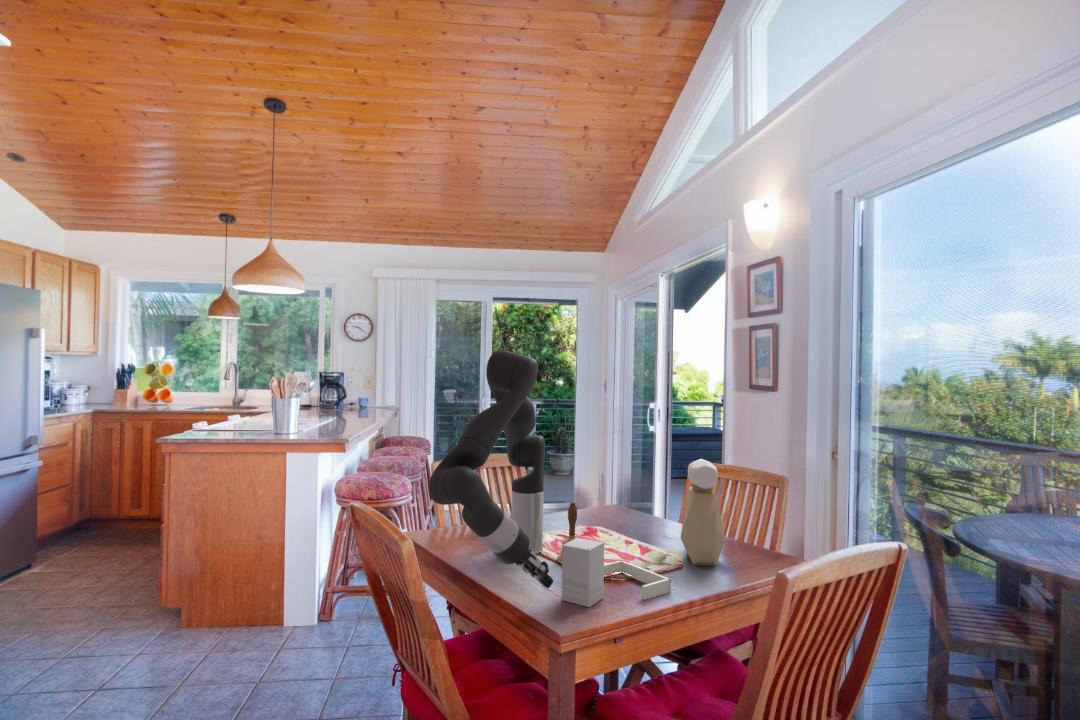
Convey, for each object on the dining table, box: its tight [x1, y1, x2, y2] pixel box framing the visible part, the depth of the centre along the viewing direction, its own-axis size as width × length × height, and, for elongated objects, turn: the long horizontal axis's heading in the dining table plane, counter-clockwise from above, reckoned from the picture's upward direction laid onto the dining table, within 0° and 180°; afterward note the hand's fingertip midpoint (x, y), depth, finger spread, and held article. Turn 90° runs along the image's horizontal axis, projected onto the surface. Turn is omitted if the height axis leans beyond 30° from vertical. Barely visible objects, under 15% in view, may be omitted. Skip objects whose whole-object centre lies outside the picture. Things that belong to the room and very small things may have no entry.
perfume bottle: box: [680, 458, 726, 567], centre depth 163 cm, size 12×24×28 cm, turn 173°
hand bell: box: [556, 501, 578, 562], centre depth 160 cm, size 8×8×16 cm
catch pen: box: [604, 560, 672, 601], centre depth 142 cm, size 9×17×3 cm, turn 36°
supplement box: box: [561, 537, 605, 608], centre depth 133 cm, size 7×7×13 cm
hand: (549, 583), depth 127 cm, fingers closed
